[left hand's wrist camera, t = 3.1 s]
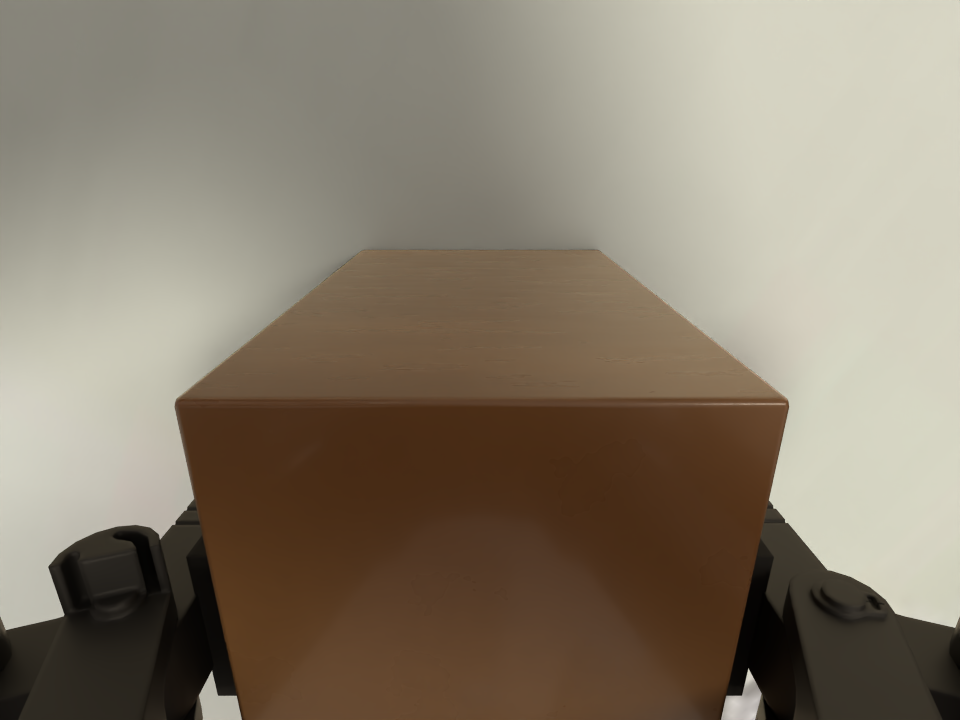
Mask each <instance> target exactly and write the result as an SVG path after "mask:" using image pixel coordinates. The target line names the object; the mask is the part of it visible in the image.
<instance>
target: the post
mask: <svg viewBox="0 0 960 720" xmlns="http://www.w3.org/2000/svg"><path fill="white" fill-rule="evenodd" d="M788 409H789V403H788V400H787V398H786V397H784V396H783V395H782V394H780V393H779V392H778V391H777V390H775V389H774V388H773V387H772V386H770V385H769V384H768V383H767V382H765V381H764V380H763V379H761V378H760V377H759V376H758V375H756V374H755V373H754V372H753V371H751V370H750V369H749V368H748V367H746V366H745V365H744V364H742V363H741V362H740V361H739V360H737V359H736V358H735V357H734V356H732V355H731V354H730V353H729V352H727V351H726V350H725V349H723V348H722V347H721V346H720V345H718V344H717V343H716V342H715V341H713V340H712V339H711V338H710V337H708V336H707V335H706V334H704V333H703V332H702V331H701V330H699V329H698V328H697V327H696V326H694V325H693V324H692V323H691V322H689V321H688V320H687V319H685V318H684V317H683V316H682V315H680V314H679V313H678V312H677V311H675V310H674V309H673V308H672V307H670V306H669V305H668V304H666V303H665V302H664V301H663V300H661V299H660V298H659V297H658V296H656V295H655V294H654V293H653V292H651V291H650V290H649V289H647V288H646V287H645V286H644V285H642V284H641V283H640V282H639V281H637V280H636V279H635V278H634V277H632V276H631V275H630V274H628V273H627V272H626V271H625V270H623V269H622V268H621V267H620V266H618V265H617V264H616V263H615V262H613V261H612V260H611V259H609V258H608V257H607V256H606V255H604V254H603V253H602V252H601V251H599V250H363V251H361V252H360V253H358V254H357V255H356V256H355V257H353V258H352V259H351V260H350V261H348V262H347V263H346V264H345V265H343V266H342V267H341V268H340V269H338V270H337V271H336V272H335V273H333V274H332V275H331V276H330V277H328V278H327V279H326V280H325V281H323V282H322V283H321V284H320V285H318V286H317V287H316V288H315V289H313V290H312V291H311V292H310V293H308V294H307V295H306V296H305V297H303V298H302V299H301V300H300V301H298V302H297V303H296V304H295V305H293V306H292V307H291V308H290V309H288V310H287V311H286V312H285V313H283V314H282V315H281V316H280V317H278V318H277V319H276V320H275V321H273V322H272V323H271V324H270V325H268V326H267V327H266V328H265V329H263V330H262V331H261V332H259V333H258V334H257V335H256V336H254V337H253V338H252V339H251V340H249V341H248V342H247V343H246V344H244V345H243V346H242V347H241V348H239V349H238V350H237V351H236V352H234V353H233V354H232V355H231V356H229V357H228V358H227V359H226V360H224V361H223V362H222V363H221V364H219V365H218V366H217V367H216V368H214V369H213V370H212V371H211V372H209V373H208V374H207V375H206V376H204V377H203V378H202V379H201V380H199V381H198V382H197V383H196V384H194V385H193V386H192V387H191V388H189V389H188V390H187V391H186V392H184V393H183V394H182V395H181V396H179V397H178V398H177V399H176V402H175V411H176V415H177V420H178V425H179V429H180V434H181V438H182V443H183V448H184V452H185V457H186V462H187V466H188V471H189V476H190V480H191V485H192V490H193V494H194V499H195V503H196V508H197V513H198V517H199V522H200V527H201V531H202V536H203V541H204V545H205V550H206V555H207V559H208V564H209V568H210V573H211V578H212V582H213V587H214V592H215V596H216V601H217V606H218V610H219V615H220V620H221V624H222V629H223V634H224V638H225V643H226V647H227V652H228V657H229V661H230V666H231V671H232V675H233V680H234V685H235V689H236V694H237V699H238V703H239V708H240V712H241V717H242V720H721V717H722V712H723V708H724V703H725V698H726V694H727V689H728V685H729V680H730V675H731V671H732V666H733V662H734V657H735V652H736V648H737V643H738V639H739V634H740V630H741V625H742V620H743V616H744V611H745V607H746V602H747V597H748V593H749V588H750V584H751V579H752V575H753V570H754V565H755V561H756V556H757V552H758V547H759V542H760V538H761V533H762V529H763V524H764V519H765V515H766V510H767V506H768V501H769V497H770V492H771V487H772V483H773V478H774V474H775V469H776V464H777V460H778V455H779V451H780V446H781V441H782V437H783V432H784V428H785V423H786V419H787V414H788Z"/></svg>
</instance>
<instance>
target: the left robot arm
mask: <svg viewBox="0 0 960 720" xmlns="http://www.w3.org/2000/svg"><path fill="white" fill-rule="evenodd" d="M48 568H49V571H50V573H51V576H52V579H53V582H54V585H55V588H56V591H57V594H58V597H59V600H60V603H61V605H62V608H63V611H64V614H65V615H64V617H61V618H57V619H53V620H49V621H44V622H40V623H36V624H31V625H27V626H22V627H18V628H14V629H9V630H5V627H4V625H3V622H2V620H1V617H0V720H203V716H202V708H201V703H200V699H199V694H200V692H201V690H202V688H203V686H204V684H205V682H206V680H207V679H208V677H209V675H210V673H211V671H213V676H214V680H215V684H216V689H217V693H218V696H237V694H236V689H235V685H234V680H233V675H232V671H231V666H230V661H229V657H228V652H227V647H226V643H225V638H224V634H223V629H222V624H221V620H220V615H219V610H218V606H217V601H216V596H215V592H214V587H213V582H212V578H211V573H210V568H209V564H208V559H207V555H206V550H205V545H204V541H203V536H202V531H201V527H200V522H199V517H198V513H197V508H196V503H195V499H194V500H193V501H192V502H191V504H190V505H189V506H188V507H187V511H184V512H183V513H182V514H181V516H180V517H179V518H178V519H177V520H176V524H175V525H172V526H171V528H170V529H169V530H168V531H167V532H166V534H165V535H164V536H163V537H162V538H161V540H160V538H159V534H157V533H156V532H155V531H154V530H152V529H151V528H149V527H143V526H138V525H131V526H120V527H114V528H111V529H107V530H104V531H100V532H97V533H94V534H92V535H90V536H88V537H86V538H84V539H81V540H79V541H77V542H75V543H74V544H72V545H71V546H70V547H68V548H67V549H65V550H64V551H63V552H61V553H60V554H59V555H58V556H57V557H56V558H55V559H54V561H53V562H52V563H51V564H50V565H49V567H48ZM748 668H749V670H750V672H751V674H752V676H753V678H754V679H755V681H756V683H757V685H758V687H759V689H760V691H761V693H762V695H761V699H760V703H759V707H758V711H757V715H756V719H755V720H960V617H959V620H958V622H957V625H956V628H953V627H948V626H944V625H940V624H935V623H931V622H926V621H922V620H918V619H913V618H909V617H905V616H901V615H898V614H895V612H894V611H893V610H892V608H891V607H890V605H889V604H888V603H887V601H886V600H885V599H884V598H882V597H881V596H880V595H879V594H878V593H876V592H875V591H874V590H873V589H871V588H870V587H868V586H867V585H865V584H863V583H861V582H859V581H857V580H855V579H853V578H851V577H849V576H846V575H842V574H839V573H836V572H833V571H828V570H827V569H826V568H825V567H824V566H823V564H822V563H821V562H820V561H819V560H818V558H817V557H816V556H815V555H814V554H813V553H812V551H811V550H810V549H809V548H808V547H807V545H806V544H805V543H804V542H803V541H802V539H801V538H800V537H799V536H798V535H797V533H796V532H795V531H794V530H793V529H792V527H791V526H790V525H789V524H788V523H785V519H784V518H783V517H782V516H781V514H780V513H779V512H778V511H777V510H776V509H773V505H772V504H771V502H770V501H768V506H767V510H766V515H765V519H764V524H763V529H762V533H761V538H760V542H759V547H758V552H757V556H756V561H755V565H754V570H753V575H752V579H751V584H750V588H749V593H748V597H747V602H746V607H745V611H744V616H743V620H742V625H741V630H740V634H739V639H738V643H737V648H736V652H735V657H734V662H733V666H732V671H731V675H730V680H729V685H728V689H727V694H726V696H742V693H743V689H744V684H745V680H746V676H747V672H748Z"/></svg>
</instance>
